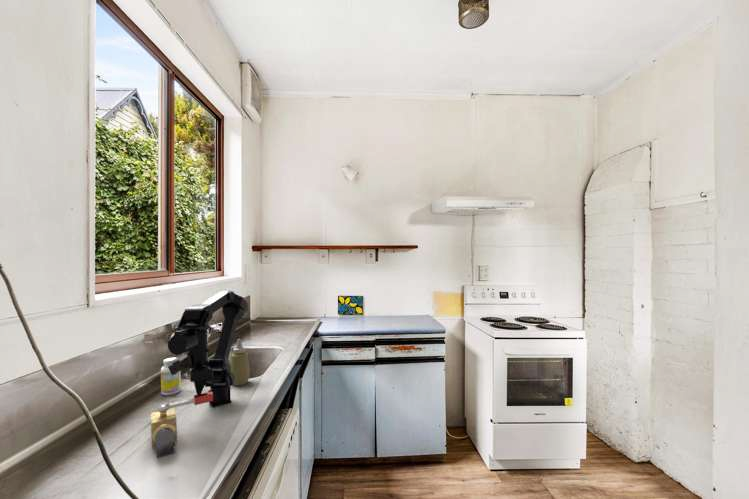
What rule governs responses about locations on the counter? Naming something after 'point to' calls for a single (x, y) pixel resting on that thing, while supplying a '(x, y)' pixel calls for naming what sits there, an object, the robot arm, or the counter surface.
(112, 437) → the counter surface
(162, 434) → the valve body
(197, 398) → the valve lever
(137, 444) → the counter surface
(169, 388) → the supplement bottle
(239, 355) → the squeeze bottle
